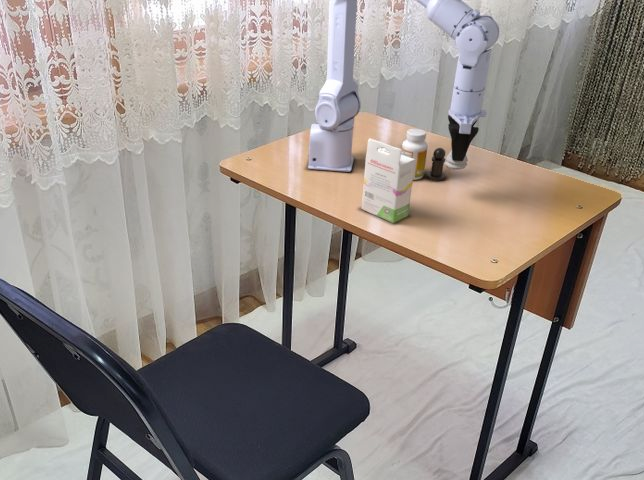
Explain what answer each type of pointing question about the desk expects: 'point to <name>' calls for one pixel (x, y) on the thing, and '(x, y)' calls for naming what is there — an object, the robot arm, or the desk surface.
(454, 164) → the rook chess piece
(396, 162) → the ink box
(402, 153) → the supplement bottle
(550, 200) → the desk surface
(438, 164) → the ebony pawn
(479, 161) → the desk surface
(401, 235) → the desk surface
